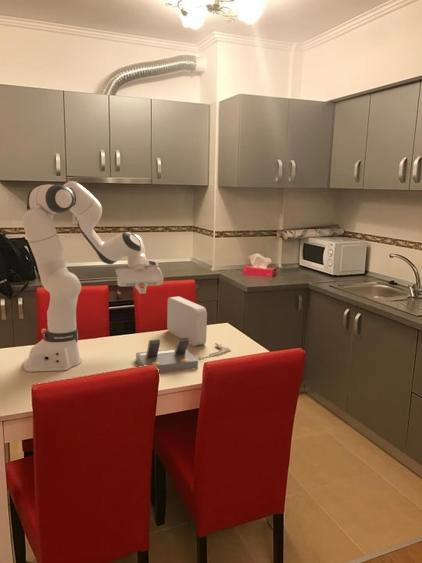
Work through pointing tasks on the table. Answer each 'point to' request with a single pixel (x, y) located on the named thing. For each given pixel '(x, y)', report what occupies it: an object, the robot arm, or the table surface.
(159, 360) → the breaker panel
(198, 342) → the light grey rounded box
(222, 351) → the jawbone
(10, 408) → the table surface
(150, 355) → the lever
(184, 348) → the lever
